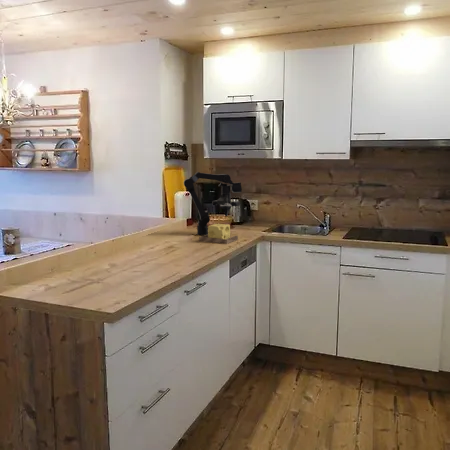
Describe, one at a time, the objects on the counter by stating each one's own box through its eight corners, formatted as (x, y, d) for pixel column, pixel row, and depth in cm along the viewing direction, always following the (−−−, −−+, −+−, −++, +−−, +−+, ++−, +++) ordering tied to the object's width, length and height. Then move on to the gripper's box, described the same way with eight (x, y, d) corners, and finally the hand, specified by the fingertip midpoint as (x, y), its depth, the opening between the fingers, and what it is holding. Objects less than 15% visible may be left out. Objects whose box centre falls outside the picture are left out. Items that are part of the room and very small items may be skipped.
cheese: (222, 243, 270) (222, 226, 268) (207, 241, 275) (207, 225, 273) (230, 240, 279) (230, 224, 277) (215, 238, 284) (215, 223, 282)
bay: (199, 241, 276) (198, 237, 276) (210, 237, 288) (210, 233, 288) (227, 243, 266) (226, 239, 266) (237, 239, 278) (237, 235, 278)
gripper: (207, 193, 293) (208, 216, 296) (232, 194, 284) (232, 218, 287) (216, 192, 303) (216, 214, 306) (240, 193, 294) (240, 216, 297)
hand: (226, 216), depth 298 cm, fingers closed
